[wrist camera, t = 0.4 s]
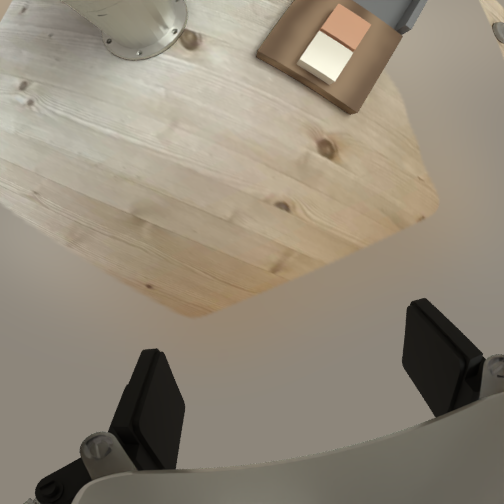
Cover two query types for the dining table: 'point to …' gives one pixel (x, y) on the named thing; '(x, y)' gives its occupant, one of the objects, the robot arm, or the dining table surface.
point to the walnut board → (358, 66)
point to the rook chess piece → (499, 31)
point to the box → (395, 12)
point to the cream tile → (325, 58)
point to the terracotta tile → (345, 27)
